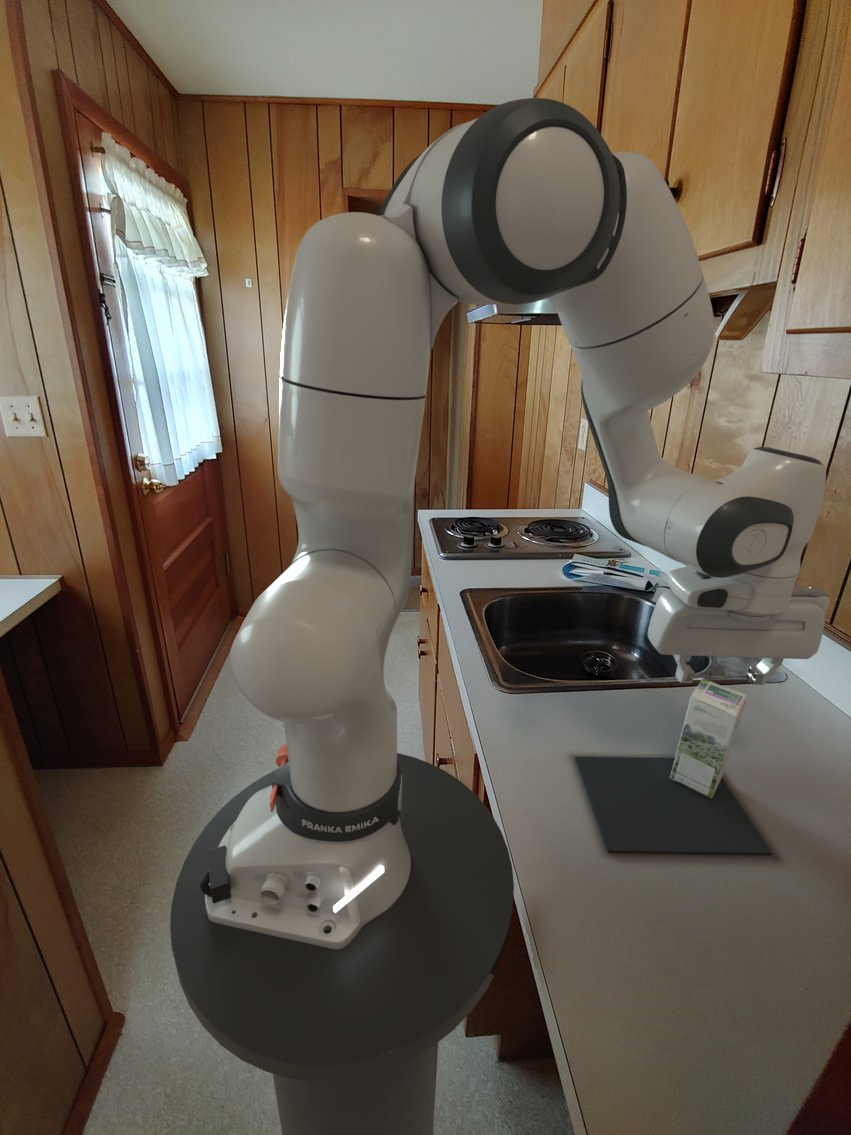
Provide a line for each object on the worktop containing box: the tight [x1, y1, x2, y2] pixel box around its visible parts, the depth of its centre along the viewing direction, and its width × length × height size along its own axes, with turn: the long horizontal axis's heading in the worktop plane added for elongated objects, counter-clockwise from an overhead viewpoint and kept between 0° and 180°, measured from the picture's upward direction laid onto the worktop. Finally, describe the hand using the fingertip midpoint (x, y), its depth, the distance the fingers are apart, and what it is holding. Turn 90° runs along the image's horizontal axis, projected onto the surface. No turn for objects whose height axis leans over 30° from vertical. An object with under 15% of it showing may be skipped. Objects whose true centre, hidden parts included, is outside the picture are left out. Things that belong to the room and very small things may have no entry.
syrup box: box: [670, 678, 748, 798], centre depth 75 cm, size 6×6×14 cm
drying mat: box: [574, 755, 773, 856], centre depth 74 cm, size 20×16×1 cm
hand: (719, 681), depth 71 cm, fingers open, 8 cm apart
